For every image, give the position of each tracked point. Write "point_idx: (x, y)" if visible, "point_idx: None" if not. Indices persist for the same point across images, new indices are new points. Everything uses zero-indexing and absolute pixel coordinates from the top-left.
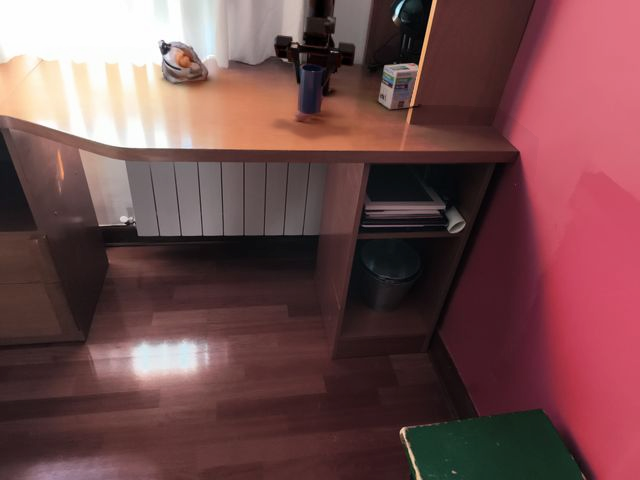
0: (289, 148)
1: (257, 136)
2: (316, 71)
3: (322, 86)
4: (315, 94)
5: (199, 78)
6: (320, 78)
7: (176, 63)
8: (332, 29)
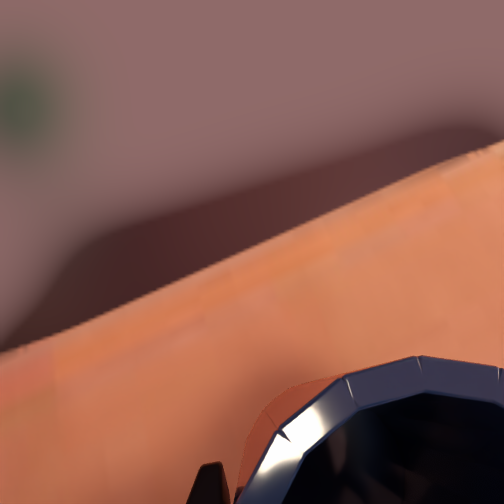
0: (321, 233)
1: (500, 284)
2: (313, 420)
3: (226, 484)
4: (277, 403)
5: None
6: (248, 463)
7: None
8: None
